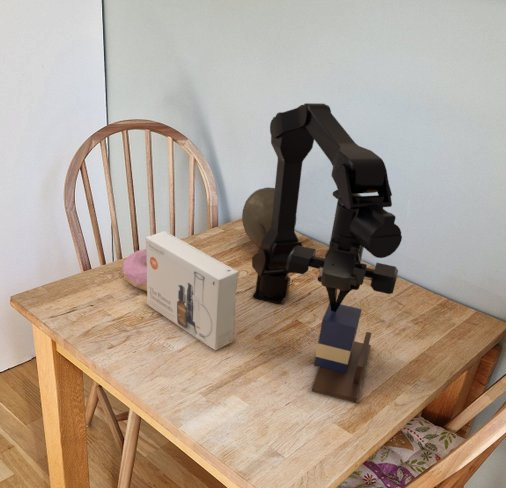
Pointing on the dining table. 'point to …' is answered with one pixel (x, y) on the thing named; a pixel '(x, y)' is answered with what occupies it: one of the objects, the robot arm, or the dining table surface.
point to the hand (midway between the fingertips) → (333, 310)
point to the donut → (136, 269)
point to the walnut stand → (345, 375)
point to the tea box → (337, 338)
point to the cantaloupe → (258, 214)
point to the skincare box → (191, 289)
